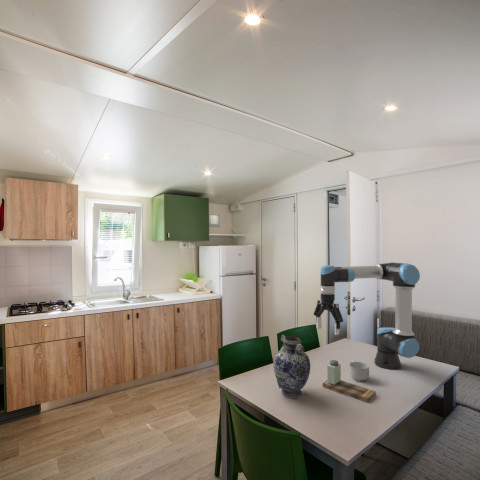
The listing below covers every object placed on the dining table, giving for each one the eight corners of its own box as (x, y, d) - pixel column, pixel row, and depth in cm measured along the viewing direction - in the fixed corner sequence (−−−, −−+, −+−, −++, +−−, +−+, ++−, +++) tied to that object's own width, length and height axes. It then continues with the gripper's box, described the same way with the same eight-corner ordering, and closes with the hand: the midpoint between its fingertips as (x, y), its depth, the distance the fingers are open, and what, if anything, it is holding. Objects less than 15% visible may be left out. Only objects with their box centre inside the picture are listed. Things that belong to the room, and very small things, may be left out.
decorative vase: (265, 386, 167) (266, 334, 167) (296, 382, 174) (297, 331, 174) (285, 406, 147) (286, 346, 147) (319, 400, 154) (319, 342, 154)
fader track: (322, 386, 167) (322, 382, 167) (331, 380, 175) (331, 377, 175) (367, 402, 151) (367, 398, 151) (375, 395, 158) (375, 391, 158)
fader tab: (327, 382, 167) (327, 362, 167) (333, 378, 172) (333, 358, 172) (334, 384, 164) (334, 364, 164) (341, 380, 169) (340, 360, 169)
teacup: (371, 383, 171) (371, 369, 171) (350, 382, 173) (350, 367, 174) (366, 373, 185) (366, 359, 185) (347, 371, 187) (346, 358, 187)
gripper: (307, 290, 184) (307, 327, 184) (339, 297, 162) (340, 338, 162) (317, 289, 188) (317, 325, 187) (350, 295, 166) (350, 336, 166)
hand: (327, 331), depth 175 cm, fingers open, 13 cm apart
